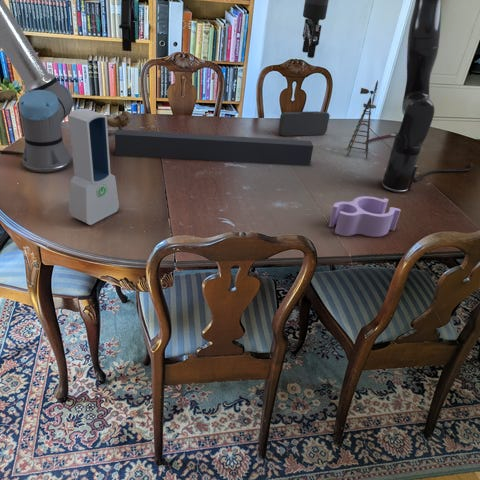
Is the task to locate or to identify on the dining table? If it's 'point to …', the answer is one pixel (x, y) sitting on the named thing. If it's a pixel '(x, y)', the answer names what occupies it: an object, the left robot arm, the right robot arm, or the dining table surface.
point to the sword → (382, 137)
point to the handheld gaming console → (303, 123)
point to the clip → (364, 217)
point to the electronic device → (91, 168)
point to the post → (212, 147)
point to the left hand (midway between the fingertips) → (129, 46)
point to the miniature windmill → (364, 91)
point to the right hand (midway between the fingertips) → (307, 54)
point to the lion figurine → (120, 120)
